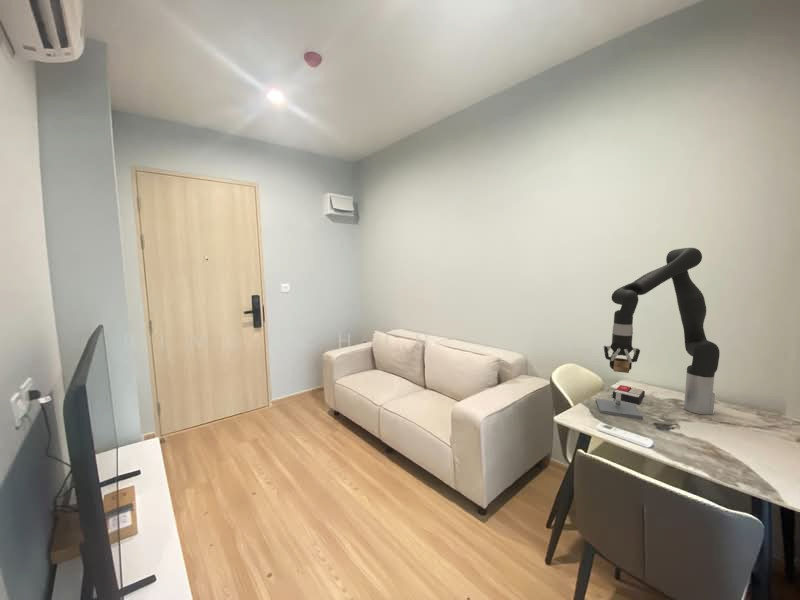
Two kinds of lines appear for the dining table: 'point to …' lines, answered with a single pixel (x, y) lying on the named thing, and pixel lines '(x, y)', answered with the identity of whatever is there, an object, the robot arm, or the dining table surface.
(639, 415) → the board
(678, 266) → the robot arm
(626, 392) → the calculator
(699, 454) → the dining table surface
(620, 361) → the brown boxy piece
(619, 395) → the post
